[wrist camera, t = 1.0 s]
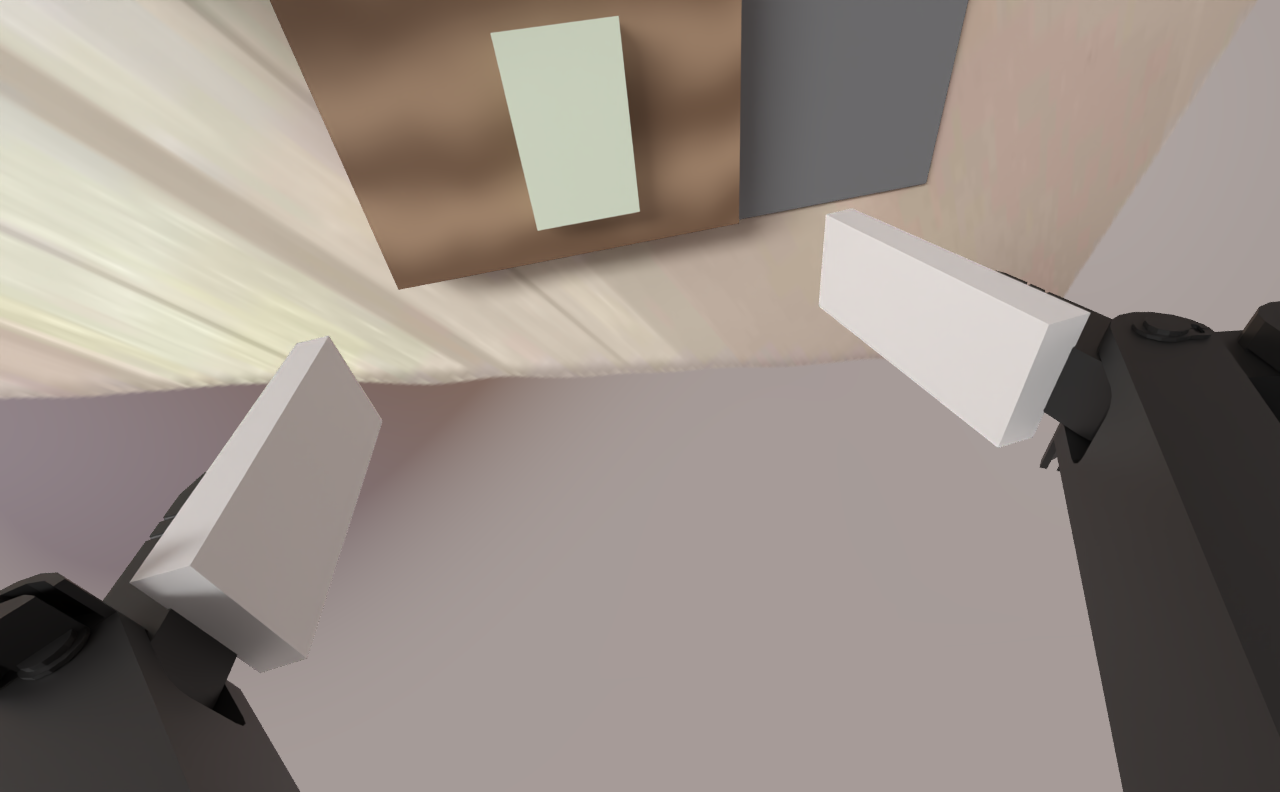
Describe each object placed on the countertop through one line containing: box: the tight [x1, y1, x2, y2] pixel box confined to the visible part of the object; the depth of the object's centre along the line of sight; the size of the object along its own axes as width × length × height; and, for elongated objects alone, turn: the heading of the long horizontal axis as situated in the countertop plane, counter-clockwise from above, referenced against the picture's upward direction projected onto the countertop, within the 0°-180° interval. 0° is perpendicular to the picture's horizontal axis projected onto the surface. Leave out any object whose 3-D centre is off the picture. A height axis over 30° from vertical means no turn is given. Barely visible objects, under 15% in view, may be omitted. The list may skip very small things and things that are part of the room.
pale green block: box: [490, 16, 640, 231], centre depth 26 cm, size 9×6×2 cm, turn 7°
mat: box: [739, 0, 968, 219], centre depth 32 cm, size 16×16×1 cm
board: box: [270, 0, 742, 290], centre depth 28 cm, size 14×22×4 cm, turn 97°
